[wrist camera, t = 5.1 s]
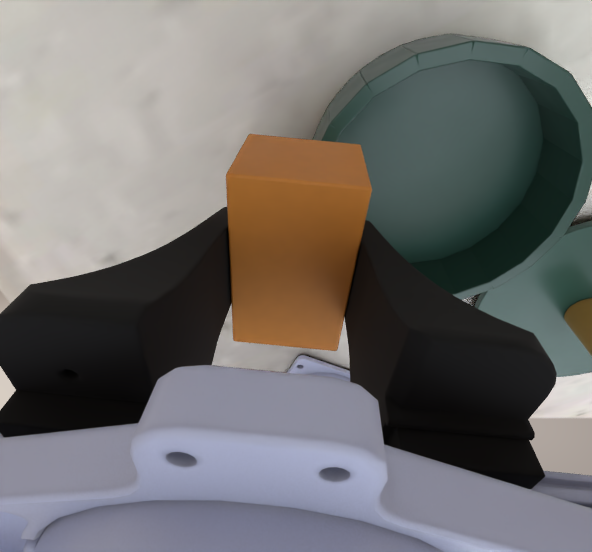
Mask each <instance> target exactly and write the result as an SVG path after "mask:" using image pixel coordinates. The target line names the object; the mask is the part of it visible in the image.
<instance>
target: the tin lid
mask: <svg viewBox="0 0 592 552" xmlns="http://www.w3.org/2000/svg"><path fill="white" fill-rule="evenodd" d="M475 308H477V309H479V310H481V311H483V312H485V313H487V314H489V315H491V316H493V317H496V318H498V319H500V320H503V321H505V322H508V323H510V324H513V325H515V326H517V327H520V328H522V329H525V330H527V331H530V332H532V333H534V334H535V336H536V337H537V339H538V340H539V342H540V344H541V345H542V347H543V348H544V350H545V351H546V353H547V355H548V356H549V358H550V359H551V361H552V362H553V364H554V367H555V370H556V373H557V376H556V377H563V376H572V375H579V374H584V373H590V372H592V220H591V221H587V222H584V223H581V224H577V225H574V226H571V227H569V228H568V230H567V231H566V233H565V234H564V236H563V237H561V239H560V240H559V241H558V242H557V243H556V244H555V245H554V246H553V247H552V248H551V249H550V250H548V251H547V252H546V253H545V254H544V255H543V256H542V257H541V258H540V259H539V260H538V261H537V262H536V263H535V264H534V265H532V266H531V267H530V268H529V269H527V270H525V271H524V272H522V273H520V274H519V275H517V276H515V277H514V278H512V279H510V280H508V281H507V282H505V283H503V284H502V285H500V286H498V287H497V288H494V289H492V290H489V291H486V292H483V293H480V295H479V297H478V299H477V301H476V304H475Z"/></svg>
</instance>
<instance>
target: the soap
mask: <svg viewBox="0 0 592 552" xmlns="http://www.w3.org/2000/svg"><path fill="white" fill-rule="evenodd" d="M226 189H227V211H228V233H229V255H230V277H231V299H232V321H233V339H234V341H238V342H249V343H259V344H269V345H279V346H290V347H300V348H310V349H320V350H331V351H336V350H337V349H338V344H339V340H340V335H341V330H342V326H343V321H344V317H345V312H346V307H347V303H348V298H349V294H350V289H351V284H352V280H353V275H354V271H355V266H356V261H357V257H358V252H359V247H360V243H361V238H362V234H363V229H364V224H365V220H366V215H367V211H368V206H369V201H370V197H371V192H372V187H371V183H370V180H369V176H368V172H367V168H366V164H365V160H364V156H363V152H362V148H361V145H359V144H350V143H339V142H329V141H318V140H308V139H297V138H287V137H276V136H266V135H256V134H249V135H248V137H247V138H246V140H245V142H244V144H243V146H242V147H241V149H240V151H239V153H238V154H237V156H236V158H235V160H234V162H233V163H232V165H231V167H230V169H229V170H228V172H227V174H226Z"/></svg>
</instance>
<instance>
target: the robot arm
mask: <svg viewBox="0 0 592 552" xmlns="http://www.w3.org/2000/svg"><path fill="white" fill-rule="evenodd" d="M231 303H232V299H231V277H230V255H229V233H228V211H227V207H224V208H222V209H221V210H219V211H218V212H216V213H215V214H214V215H212V216H211V217H209V218H208V219H207V220H205V221H204V222H202V223H201V224H199V225H198V226H196V227H195V228H193V229H192V230H190V231H189V232H187V233H185V234H184V235H182V236H180V237H179V238H177V239H175V240H174V241H172V242H170V243H168V244H166V245H164V246H162V247H160V248H158V249H156V250H154V251H152V252H149V253H147V254H145V255H143V256H140V257H137V258H135V259H132V260H129V261H126V262H124V263H121V264H118V265H115V266H112V267H109V268H105V269H102V270H98V271H95V272H91V273H87V274H83V275H79V276H74V277H70V278H64V279H59V280H54V281H48V282H43V283H37V284H31V285H29V286H28V287H27V288H26V289H25V290H24V291H23V292H22V293H21V294H20V295H19V296H18V297H17V298H16V299H15V300H14V301H13V302H12V303H11V304H10V305H9V306H8V307H7V308H6V309H5V310H4V311H3V312H2V313H1V314H0V366H1V368H2V369H3V371H4V372H5V374H6V375H7V377H8V378H9V380H10V381H11V383H12V384H13V386H14V387H15V389H16V391H15V392H14V394H13V395H12V396H11V398H10V399H9V400H8V401H7V403H6V404H5V405H4V406H3V408H2V409H1V410H0V552H592V476H591V475H581V474H570V473H561V472H550V471H543V469H542V467H541V465H540V463H539V461H538V459H537V457H536V454H535V452H534V450H533V448H532V446H531V444H530V442H529V440H532V439H533V438H534V431H533V429H532V427H531V425H530V423H529V421H528V419H529V418H530V416H531V415H532V414H533V413H534V412H535V411H536V409H537V408H538V407H539V406H540V405H541V403H542V402H543V401H544V400H545V399H546V398H547V396H548V395H549V393H550V392H551V390H552V388H553V387H554V385H555V382H556V376H557V373H556V370H555V367H554V364H553V362H552V361H551V359H550V358H549V356H548V355H547V353H546V351H545V350H544V348H543V347H542V345H541V344H540V342H539V340H538V339H537V337H536V336H535V334H534V333H532V332H530V331H527V330H525V329H522V328H520V327H517V326H515V325H513V324H510V323H508V322H505V321H503V320H500V319H498V318H496V317H493V316H491V315H489V314H487V313H485V312H483V311H481V310H479V309H477V308H475V307H473V306H471V305H469V304H468V303H466V302H464V301H462V300H460V299H459V298H457V297H455V296H454V295H452V294H450V293H449V292H447V291H446V290H444V289H442V288H441V287H439V286H438V285H436V284H435V283H434V282H432V281H431V280H430V279H428V278H427V277H426V276H424V275H423V274H422V273H420V272H419V271H418V270H417V269H416V268H414V267H413V266H412V265H411V264H410V263H409V262H408V261H407V260H406V259H404V258H403V257H402V256H401V255H400V254H399V253H398V252H397V251H396V250H395V249H394V248H393V247H392V246H391V245H390V243H389V242H388V241H387V240H386V239H385V238H384V237H383V236H382V235H381V233H380V232H379V231H378V230H377V229H376V228H375V226H374V225H373V224H372V223H371V222H370V221H367V220H365V224H364V229H363V234H362V238H361V243H360V247H359V252H358V257H357V261H356V266H355V271H354V275H353V280H352V284H351V289H350V294H349V298H348V303H347V307H346V312H345V323H346V330H347V337H348V344H349V355H350V371H349V370H346V369H343V368H340V367H337V366H334V365H331V364H328V363H325V362H322V361H319V360H317V359H314V358H311V357H308V356H304V355H301V356H298V357H297V359H296V360H295V361H294V363H293V364H292V366H291V367H290V369H289V370H288V372H287V373H285V372H274V371H264V370H254V369H243V368H233V367H223V366H213V365H212V361H213V357H214V353H215V349H216V345H217V341H218V338H219V335H220V332H221V329H222V327H223V324H224V321H225V319H226V316H227V313H228V311H229V308H230V305H231Z"/></svg>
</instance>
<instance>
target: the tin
mask: <svg viewBox="0 0 592 552" xmlns="http://www.w3.org/2000/svg"><path fill="white" fill-rule="evenodd" d="M313 140H318V141H329V142H339V143H350V144H359V145H361V148H362V152H363V156H364V160H365V164H366V168H367V172H368V176H369V180H370V183H371V187H372V192H371V197H370V201H369V206H368V211H367V215H366V220H367V221H370V222H371V223H372V224H373V225H374V226H375V228H376V229H377V230H378V231H379V232H380V233H381V235H382V236H383V237H384V238H385V239H386V240H387V241H388V242H389V243H390V245H391V246H392V247H393V248H394V249H395V250H396V251H397V252H398V253H399V254H400V255H401V256H402V257H403V258H404V259H406V260H407V261H408V262H409V263H410V264H411V265H412V266H413V267H414V268H416V269H417V270H418V271H419V272H420V273H422V274H423V275H424V276H426V277H427V278H428V279H430V280H431V281H432V282H434V283H435V284H436V285H438V286H439V287H441V288H442V289H444V290H446V291H447V292H449V293H450V294H452V295H454V296H455V297H457V298H459V299H460V300H463V299H465V298H468V297H471V296H474V295H477V294H480V293H483V292H486V291H489V290H492V289H494V288H497V287H498V286H500V285H502V284H503V283H505V282H507V281H508V280H510V279H512V278H514V277H515V276H517V275H519V274H520V273H522V272H524V271H525V270H527V269H529V268H530V267H531V266H532V265H534V264H535V263H536V262H537V261H538V260H539V259H540V258H541V257H542V256H543V255H544V254H545V253H546V252H547V251H548V250H550V249H551V248H552V247H553V246H554V245H555V244H556V243H557V242H558V241H559V240H560V239H561V237H563V236H564V234H565V233H566V231H567V230H568V228H569V226H570V225H571V223H572V222H573V220H574V219H575V217H576V216H577V214H578V212H579V211H580V209H581V208H582V206H583V205H584V203H585V202H586V199H587V196H588V192H589V189H590V185H591V182H592V107H591V105H590V104H589V102H588V100H587V99H586V97H585V95H584V94H583V92H582V90H581V89H580V87H579V86H578V84H577V82H576V81H575V79H574V77H573V76H572V74H570V73H569V71H567V70H565V69H564V68H562V67H561V66H559V65H557V64H556V63H554V62H552V61H551V60H549V59H547V58H546V57H544V56H543V55H541V54H539V53H538V52H536V51H534V50H533V49H531V48H529V47H526V46H522V45H517V44H513V43H508V42H504V41H499V40H495V39H489V38H481V37H473V36H465V35H457V34H444V35H439V36H433V37H428V38H423V39H418V40H415V41H412V42H409V43H406V44H403V45H401V46H398V47H396V48H394V49H392V50H390V51H388V52H386V53H384V54H382V55H381V56H379V57H378V58H376V59H375V60H373V61H372V62H370V63H369V64H367V65H366V66H365V67H363V68H362V69H361V70H360V71H359V72H357V73H356V74H355V75H354V76H353V77H352V78H351V79H350V80H349V81H348V82H347V83H346V84H345V85H344V86H343V88H342V89H341V90H340V91H339V92H338V93H337V95H336V96H335V98H334V99H333V100H332V102H331V103H330V104H329V106H328V107H327V109H326V111H325V113H324V115H323V117H322V119H321V121H320V123H319V125H318V128H317V130H316V133H315V135H314V138H313Z"/></svg>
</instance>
